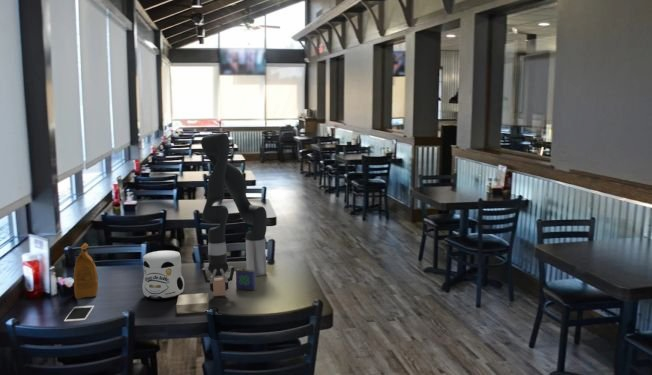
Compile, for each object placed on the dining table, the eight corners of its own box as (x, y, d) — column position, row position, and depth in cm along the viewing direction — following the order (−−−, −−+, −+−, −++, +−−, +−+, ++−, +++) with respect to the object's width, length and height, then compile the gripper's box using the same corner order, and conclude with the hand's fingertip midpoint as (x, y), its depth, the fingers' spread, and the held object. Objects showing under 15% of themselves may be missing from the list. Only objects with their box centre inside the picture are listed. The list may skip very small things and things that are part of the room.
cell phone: (94, 306, 239) (94, 305, 238) (85, 321, 223) (85, 319, 223) (74, 308, 237) (74, 306, 237) (63, 322, 222) (63, 321, 221)
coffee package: (101, 289, 259) (97, 241, 256) (97, 298, 247) (94, 248, 244) (77, 291, 257) (73, 242, 253) (72, 300, 245) (68, 249, 241)
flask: (256, 289, 257) (256, 265, 255) (254, 291, 254) (253, 267, 253) (237, 287, 260) (236, 264, 258) (234, 289, 257) (233, 266, 255)
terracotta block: (225, 290, 251) (224, 277, 250) (225, 294, 246) (224, 280, 245) (213, 291, 250) (212, 278, 249) (213, 295, 245) (212, 281, 244)
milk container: (147, 305, 238) (144, 262, 236) (139, 293, 254) (137, 253, 251) (189, 298, 246) (187, 257, 244) (179, 286, 262) (177, 248, 259)
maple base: (208, 302, 243) (208, 292, 242) (207, 312, 231) (207, 302, 230) (179, 304, 241) (178, 294, 240) (176, 314, 229) (176, 305, 228)
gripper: (234, 248, 250) (236, 286, 253) (200, 251, 247) (202, 289, 250) (234, 253, 243) (236, 292, 245) (199, 255, 240) (202, 295, 243)
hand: (219, 290), depth 248 cm, fingers closed on terracotta block, 5 cm apart
